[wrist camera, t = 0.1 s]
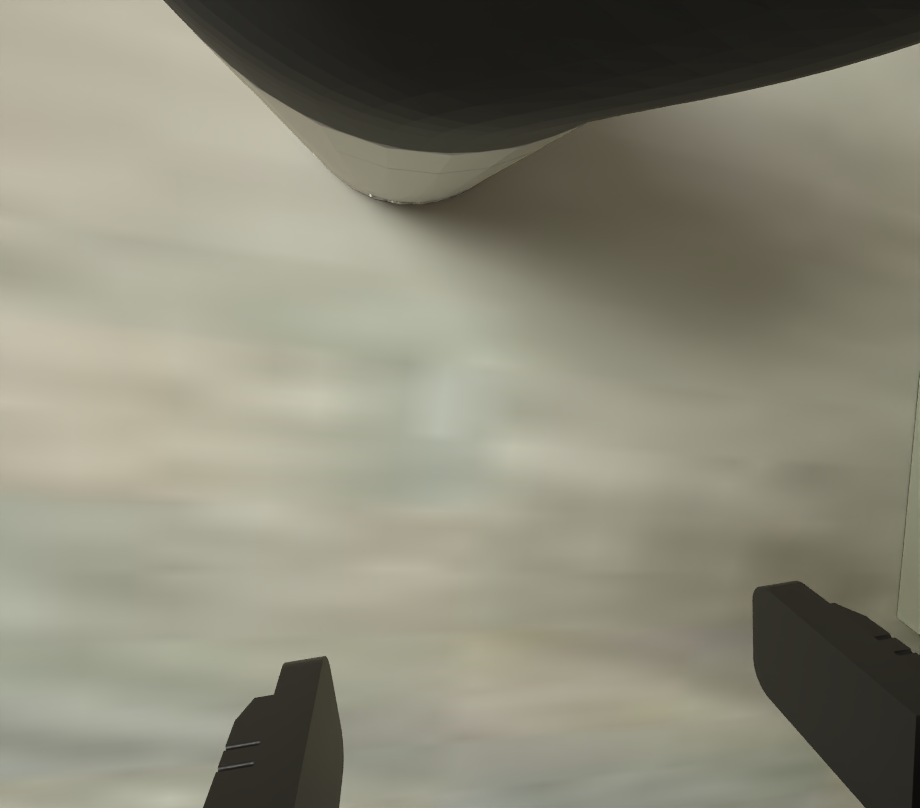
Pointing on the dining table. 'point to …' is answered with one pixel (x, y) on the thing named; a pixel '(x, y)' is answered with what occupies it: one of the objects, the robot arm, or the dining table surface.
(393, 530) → the dining table surface
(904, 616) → the block
